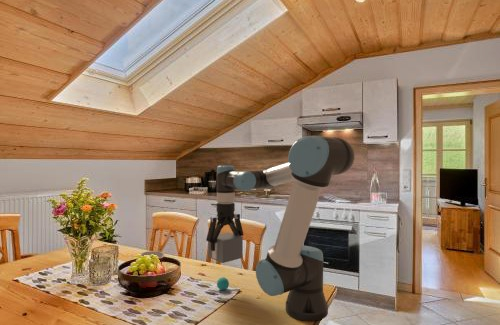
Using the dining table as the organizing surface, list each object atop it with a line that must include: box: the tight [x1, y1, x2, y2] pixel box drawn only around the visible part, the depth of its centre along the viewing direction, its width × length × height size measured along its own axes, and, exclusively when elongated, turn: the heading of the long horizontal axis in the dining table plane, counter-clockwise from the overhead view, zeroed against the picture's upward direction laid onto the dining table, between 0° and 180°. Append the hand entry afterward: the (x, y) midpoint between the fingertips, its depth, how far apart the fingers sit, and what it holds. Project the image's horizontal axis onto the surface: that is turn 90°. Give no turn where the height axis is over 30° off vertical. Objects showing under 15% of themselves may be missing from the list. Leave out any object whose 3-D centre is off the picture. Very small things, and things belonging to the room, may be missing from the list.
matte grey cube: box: [207, 232, 244, 264], centre depth 130 cm, size 10×10×9 cm
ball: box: [216, 276, 230, 291], centre depth 131 cm, size 5×5×5 cm
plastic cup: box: [139, 250, 166, 265], centre depth 141 cm, size 11×11×12 cm
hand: (225, 255), depth 130 cm, fingers closed on matte grey cube, 10 cm apart
